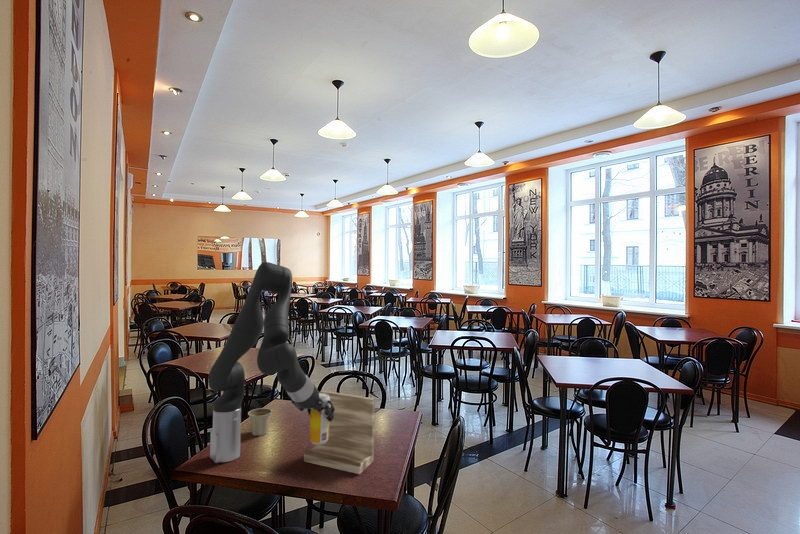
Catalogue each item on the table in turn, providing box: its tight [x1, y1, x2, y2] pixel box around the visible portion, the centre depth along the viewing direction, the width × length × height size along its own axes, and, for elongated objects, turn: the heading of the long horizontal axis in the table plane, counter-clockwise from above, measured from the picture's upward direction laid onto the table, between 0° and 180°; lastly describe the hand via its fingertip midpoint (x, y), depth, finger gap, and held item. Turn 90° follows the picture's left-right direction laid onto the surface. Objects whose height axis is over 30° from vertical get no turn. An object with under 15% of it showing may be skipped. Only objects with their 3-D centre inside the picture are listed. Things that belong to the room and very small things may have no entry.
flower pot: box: [247, 407, 273, 437], centre depth 167 cm, size 9×9×9 cm
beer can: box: [309, 392, 330, 446], centre depth 132 cm, size 6×6×15 cm
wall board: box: [303, 390, 376, 475], centre depth 144 cm, size 11×22×22 cm, turn 68°
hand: (322, 417), depth 134 cm, fingers closed on beer can, 6 cm apart
